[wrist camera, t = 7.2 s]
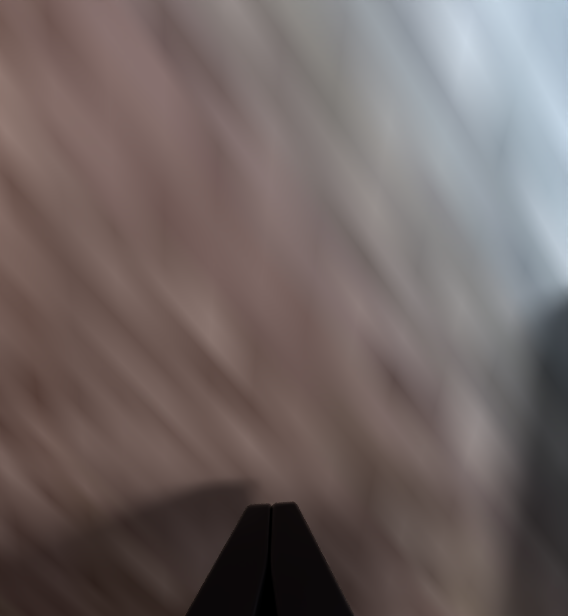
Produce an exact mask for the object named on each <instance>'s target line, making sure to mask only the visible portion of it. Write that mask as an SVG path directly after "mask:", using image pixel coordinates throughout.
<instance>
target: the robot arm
mask: <svg viewBox="0 0 568 616" xmlns="http://www.w3.org/2000/svg"><path fill="white" fill-rule="evenodd" d="M185 616H354V614H353V612H352V610H351V609H350V607H349V605H348V603H347V601H346V599H345V597H344V595H343V593H342V591H341V589H340V587H339V585H338V583H337V581H336V579H335V577H334V575H333V573H332V572H331V570H330V568H329V566H328V564H327V562H326V560H325V558H324V556H323V554H322V552H321V550H320V548H319V546H318V544H317V542H316V540H315V538H314V536H313V534H312V533H311V531H310V529H309V527H308V525H307V523H306V521H305V519H304V517H303V515H302V513H301V511H300V509H299V507H298V505H297V504H296V503H295V502H283V503H275V504H273V506H271V505H270V504H254V505H249V506H248V507H247V508H246V509H245V511H244V513H243V514H242V516H241V518H240V520H239V522H238V523H237V525H236V527H235V529H234V530H233V532H232V534H231V536H230V537H229V539H228V541H227V543H226V544H225V546H224V548H223V550H222V551H221V553H220V555H219V557H218V558H217V560H216V562H215V564H214V565H213V567H212V569H211V571H210V572H209V574H208V576H207V578H206V579H205V581H204V583H203V585H202V586H201V588H200V590H199V592H198V594H197V595H196V597H195V599H194V601H193V602H192V604H191V606H190V608H189V609H188V611H187V613H186V615H185Z"/></svg>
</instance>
